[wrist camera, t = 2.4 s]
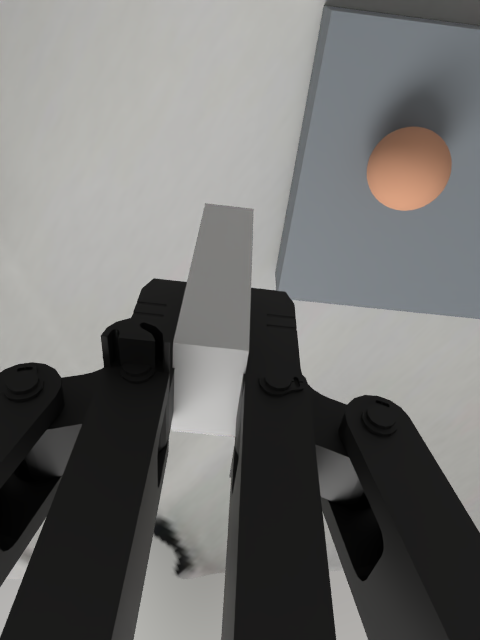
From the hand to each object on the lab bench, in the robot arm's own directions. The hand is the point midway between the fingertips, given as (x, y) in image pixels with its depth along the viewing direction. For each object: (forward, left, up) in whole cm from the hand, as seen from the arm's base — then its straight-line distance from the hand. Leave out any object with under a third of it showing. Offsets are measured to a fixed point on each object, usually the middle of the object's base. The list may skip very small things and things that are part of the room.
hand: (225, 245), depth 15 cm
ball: (+9, 0, -10) cm, 13 cm away
